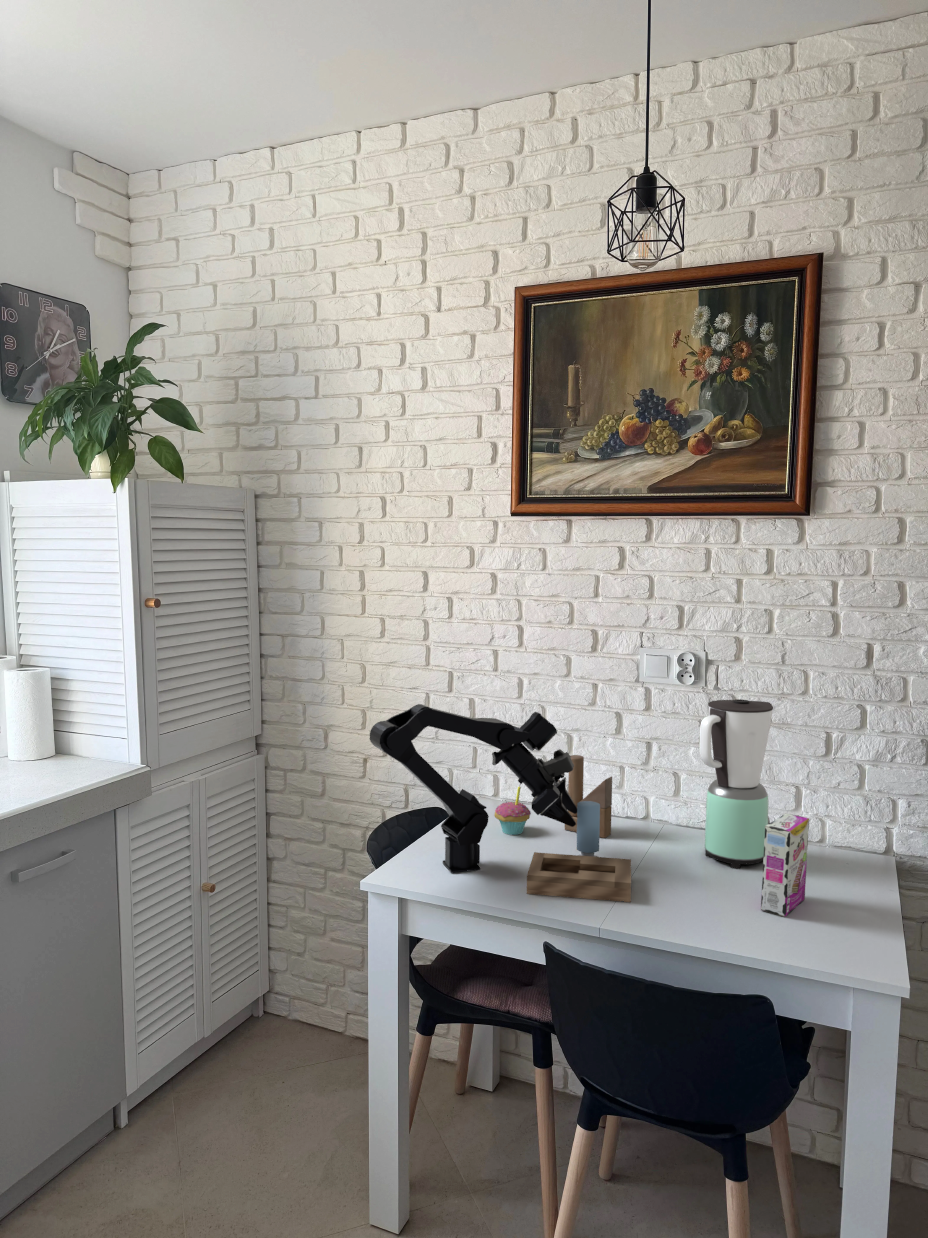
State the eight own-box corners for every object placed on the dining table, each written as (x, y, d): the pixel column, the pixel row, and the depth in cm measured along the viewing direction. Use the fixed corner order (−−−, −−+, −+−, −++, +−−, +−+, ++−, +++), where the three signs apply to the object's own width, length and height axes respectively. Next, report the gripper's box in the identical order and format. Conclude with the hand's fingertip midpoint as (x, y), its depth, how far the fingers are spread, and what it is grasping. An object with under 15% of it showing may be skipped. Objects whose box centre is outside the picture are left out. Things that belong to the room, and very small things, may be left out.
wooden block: (604, 839, 203) (606, 763, 202) (564, 830, 209) (565, 756, 208) (611, 835, 206) (613, 760, 205) (571, 826, 212) (572, 753, 211)
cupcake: (536, 830, 209) (537, 781, 208) (519, 840, 202) (520, 789, 201) (505, 824, 214) (505, 776, 213) (487, 833, 207) (488, 784, 206)
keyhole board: (526, 893, 171) (526, 875, 170) (534, 870, 183) (534, 852, 183) (630, 902, 167) (631, 883, 167) (630, 877, 180) (631, 859, 179)
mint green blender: (739, 843, 201) (744, 693, 198) (786, 862, 189) (792, 702, 186) (677, 857, 192) (681, 699, 189) (723, 877, 180) (728, 710, 177)
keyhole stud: (581, 870, 183) (582, 809, 182) (568, 860, 189) (569, 801, 188) (606, 867, 185) (607, 807, 184) (593, 857, 191) (594, 799, 190)
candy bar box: (786, 918, 160) (790, 831, 159) (760, 911, 163) (763, 825, 162) (807, 900, 169) (810, 817, 167) (781, 893, 172) (784, 812, 171)
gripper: (548, 751, 178) (602, 807, 177) (555, 732, 196) (604, 782, 195) (509, 786, 180) (562, 842, 179) (520, 764, 198) (568, 815, 197)
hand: (575, 818), depth 187 cm, fingers open, 9 cm apart
